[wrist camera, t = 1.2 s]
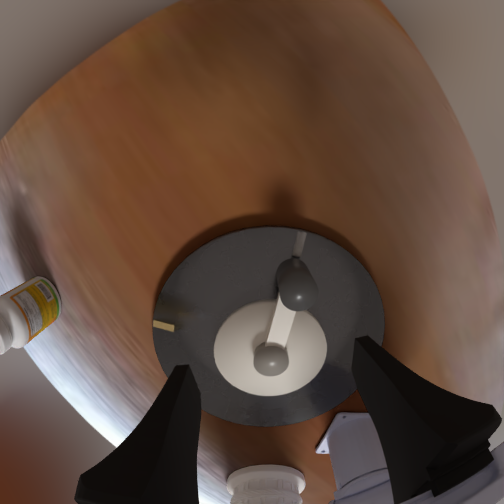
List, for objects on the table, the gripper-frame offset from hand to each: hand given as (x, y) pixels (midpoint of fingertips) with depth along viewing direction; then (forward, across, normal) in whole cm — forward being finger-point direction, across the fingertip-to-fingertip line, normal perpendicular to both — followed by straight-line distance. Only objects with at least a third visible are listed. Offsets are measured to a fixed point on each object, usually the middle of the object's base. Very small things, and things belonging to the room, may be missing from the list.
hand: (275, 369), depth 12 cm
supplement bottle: (+15, +24, +3) cm, 28 cm away
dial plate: (+12, 0, +9) cm, 15 cm away
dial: (+11, -1, +7) cm, 13 cm away
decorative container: (+8, +3, +35) cm, 36 cm away
